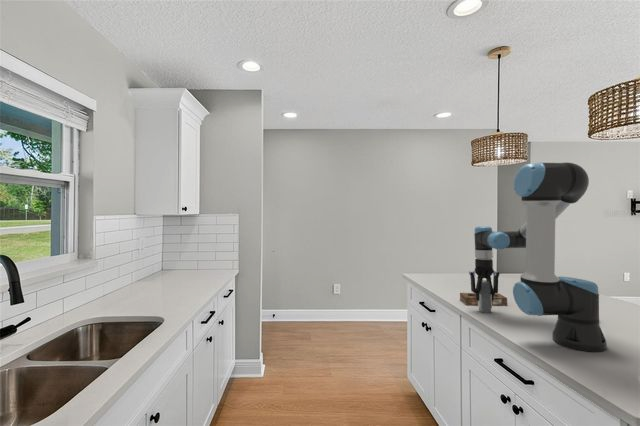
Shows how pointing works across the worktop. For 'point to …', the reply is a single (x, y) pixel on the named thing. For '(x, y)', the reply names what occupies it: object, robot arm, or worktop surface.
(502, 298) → the socket block
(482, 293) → the plug
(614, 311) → the worktop surface
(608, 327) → the worktop surface
